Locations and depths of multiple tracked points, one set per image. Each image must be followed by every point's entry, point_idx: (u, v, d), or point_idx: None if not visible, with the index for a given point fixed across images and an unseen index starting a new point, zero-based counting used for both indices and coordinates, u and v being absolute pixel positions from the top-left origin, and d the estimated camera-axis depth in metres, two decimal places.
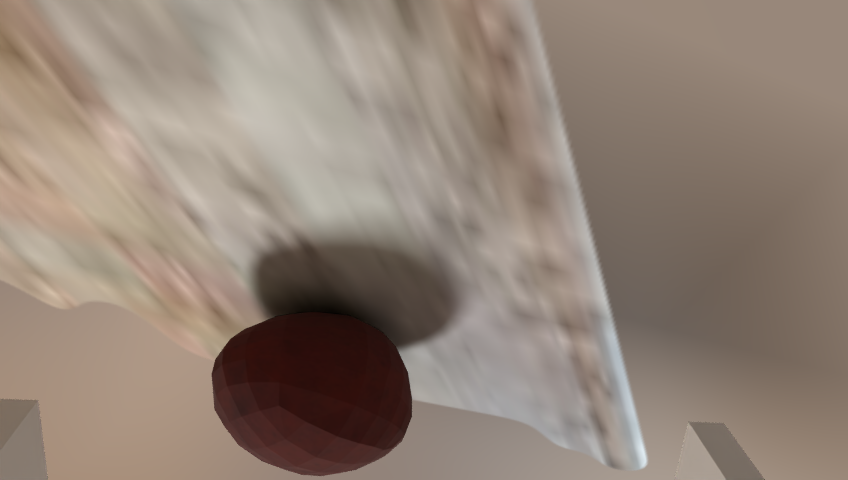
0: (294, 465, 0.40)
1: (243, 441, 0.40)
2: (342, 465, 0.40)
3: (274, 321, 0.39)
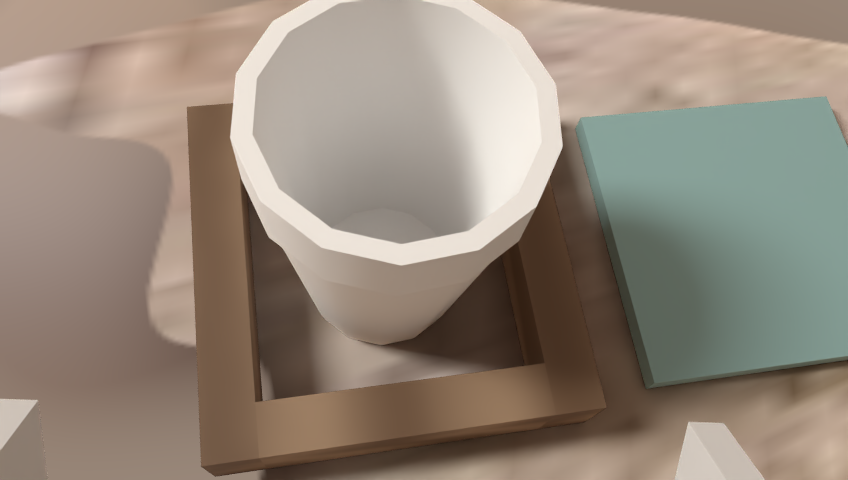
0: None
1: None
2: None
3: None
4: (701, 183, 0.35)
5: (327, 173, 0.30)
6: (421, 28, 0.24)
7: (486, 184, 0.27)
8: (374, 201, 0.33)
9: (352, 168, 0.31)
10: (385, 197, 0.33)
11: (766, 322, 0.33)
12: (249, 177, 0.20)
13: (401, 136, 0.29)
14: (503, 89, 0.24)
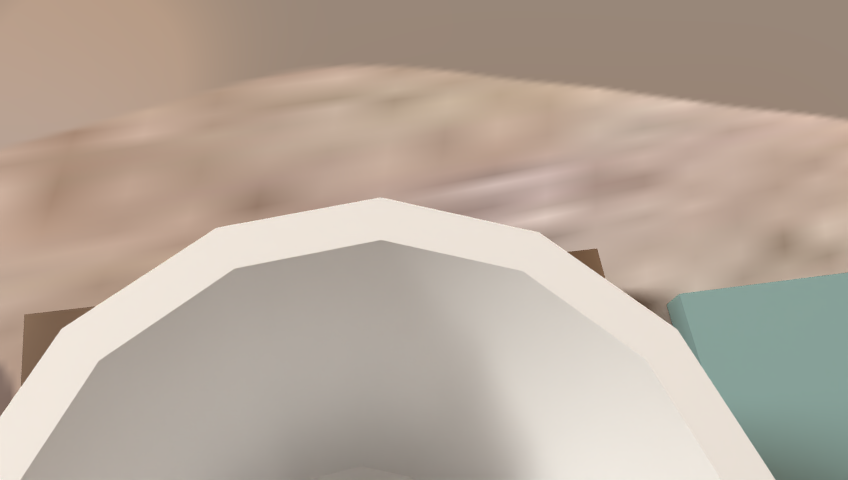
0: None
1: None
2: None
3: None
4: None
5: (256, 470, 0.16)
6: (436, 293, 0.11)
7: None
8: (347, 463, 0.20)
9: (305, 445, 0.17)
10: (367, 459, 0.20)
11: None
12: None
13: (393, 410, 0.16)
14: (624, 435, 0.10)
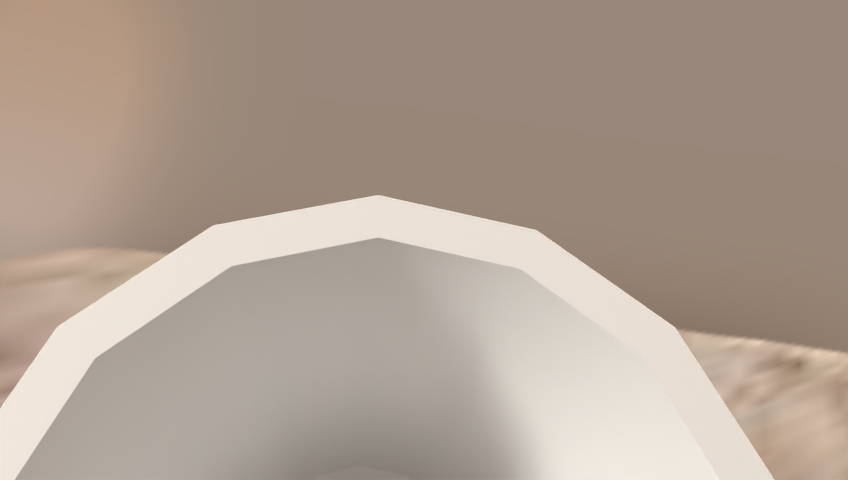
0: None
1: None
2: None
3: None
4: None
5: (254, 469, 0.16)
6: (433, 291, 0.11)
7: None
8: (346, 462, 0.20)
9: (303, 444, 0.17)
10: (365, 458, 0.20)
11: None
12: None
13: (392, 409, 0.16)
14: (622, 434, 0.10)
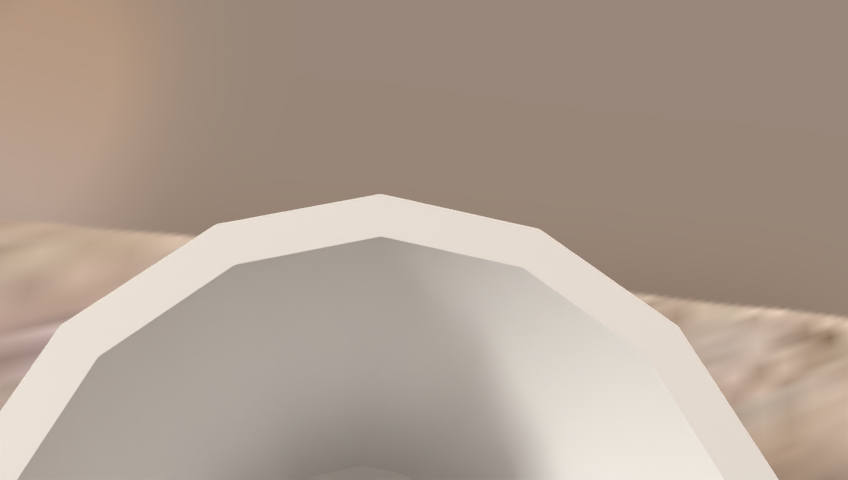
0: None
1: None
2: None
3: None
4: None
5: (256, 468, 0.16)
6: (436, 290, 0.11)
7: None
8: (347, 462, 0.20)
9: (305, 444, 0.17)
10: (367, 457, 0.20)
11: None
12: None
13: (393, 409, 0.16)
14: (625, 432, 0.10)
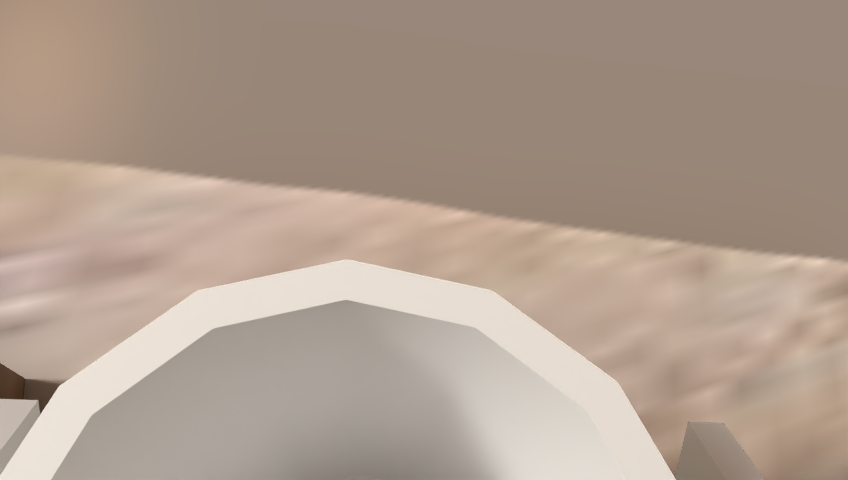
0: None
1: None
2: None
3: None
4: None
5: None
6: (403, 341, 0.12)
7: None
8: (347, 474, 0.21)
9: (303, 461, 0.18)
10: (366, 469, 0.21)
11: None
12: None
13: (382, 431, 0.17)
14: (575, 473, 0.11)
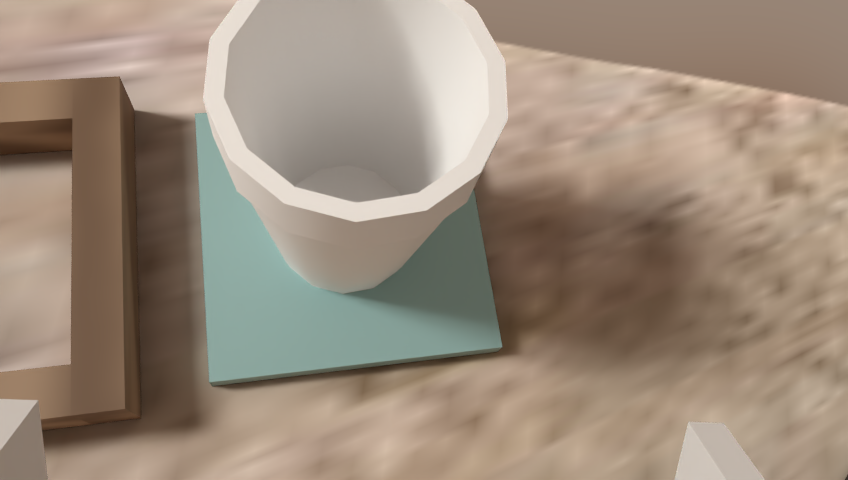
0: None
1: None
2: None
3: None
4: None
5: (295, 131, 0.31)
6: (385, 1, 0.26)
7: (443, 148, 0.29)
8: (340, 158, 0.35)
9: (319, 127, 0.32)
10: (351, 155, 0.35)
11: (338, 323, 0.34)
12: (220, 136, 0.22)
13: (366, 99, 0.31)
14: (458, 61, 0.26)
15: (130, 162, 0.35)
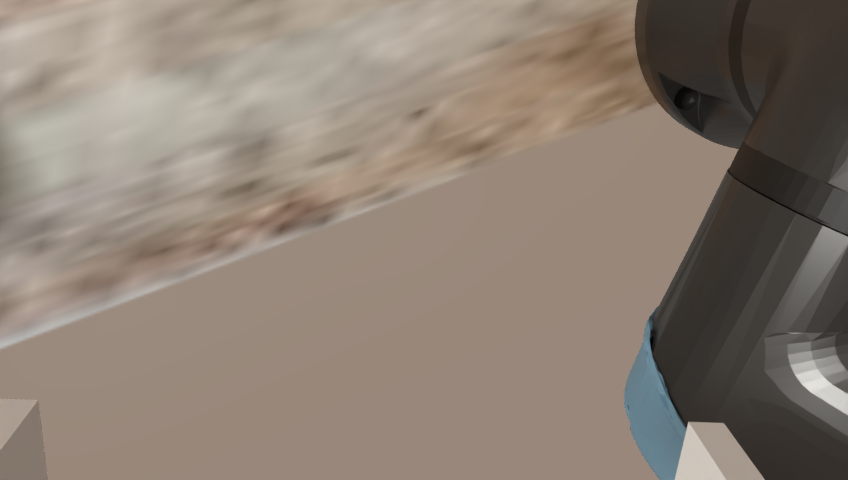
0: None
1: None
2: None
3: None
4: None
5: None
6: None
7: None
8: None
9: None
10: None
11: None
12: None
13: None
14: None
15: None
